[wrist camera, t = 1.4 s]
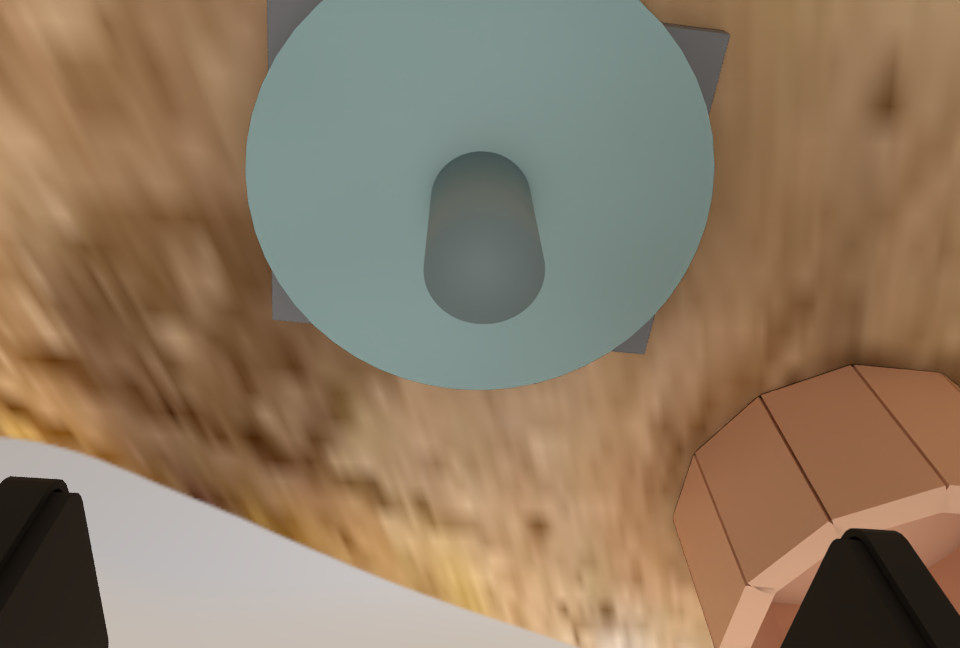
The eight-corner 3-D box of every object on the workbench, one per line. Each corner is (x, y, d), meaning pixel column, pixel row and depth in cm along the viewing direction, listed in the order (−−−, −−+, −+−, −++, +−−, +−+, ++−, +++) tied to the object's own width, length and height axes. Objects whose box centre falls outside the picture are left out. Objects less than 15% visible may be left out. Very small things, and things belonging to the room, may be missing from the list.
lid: (765, -25, 20) (858, 6, 15) (648, 392, 26) (687, 503, 21) (244, -95, 19) (172, -84, 14) (258, 357, 25) (212, 465, 20)
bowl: (1060, 383, 27) (1203, 505, 22) (921, 614, 33) (1007, 753, 28) (727, 352, 26) (793, 471, 21) (646, 595, 32) (682, 735, 27)
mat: (723, 30, 21) (730, 34, 20) (640, 344, 26) (644, 354, 25) (272, -27, 20) (266, -24, 19) (276, 310, 25) (272, 319, 24)
